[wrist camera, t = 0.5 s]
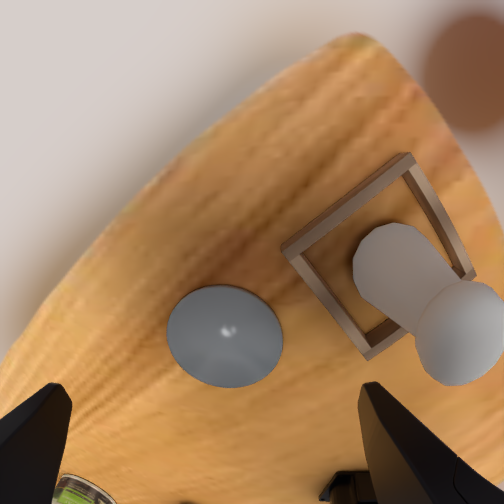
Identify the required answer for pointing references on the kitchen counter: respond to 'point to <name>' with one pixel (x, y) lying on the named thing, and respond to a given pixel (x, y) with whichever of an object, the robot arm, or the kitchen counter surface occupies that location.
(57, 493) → the coffee can
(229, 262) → the kitchen counter surface
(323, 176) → the kitchen counter surface
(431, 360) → the salt shaker
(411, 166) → the square wooden frame
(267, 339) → the coaster
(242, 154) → the kitchen counter surface
